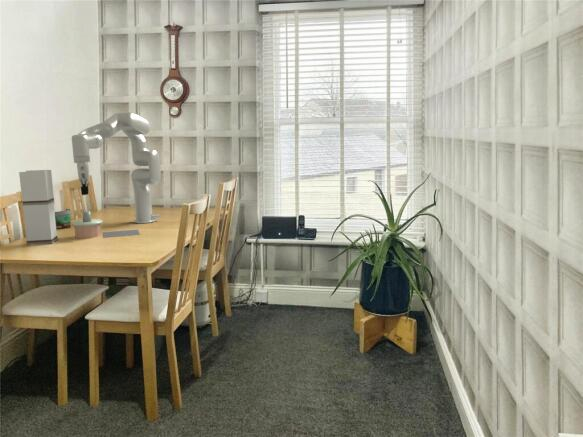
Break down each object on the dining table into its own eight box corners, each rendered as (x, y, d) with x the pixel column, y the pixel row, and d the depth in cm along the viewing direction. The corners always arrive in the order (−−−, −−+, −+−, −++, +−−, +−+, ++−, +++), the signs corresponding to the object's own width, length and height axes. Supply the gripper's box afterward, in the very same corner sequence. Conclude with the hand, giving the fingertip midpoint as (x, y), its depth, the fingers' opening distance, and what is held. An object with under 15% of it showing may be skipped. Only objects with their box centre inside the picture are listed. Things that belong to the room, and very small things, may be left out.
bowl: (100, 233, 278) (99, 220, 277) (101, 237, 267) (99, 224, 266) (76, 235, 274) (74, 222, 273) (75, 240, 263) (74, 226, 262)
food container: (64, 229, 293) (62, 212, 291) (54, 229, 294) (52, 211, 293) (77, 225, 305) (76, 208, 303) (68, 225, 306) (66, 208, 305)
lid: (102, 220, 279) (101, 208, 278) (103, 224, 265) (102, 212, 264) (72, 222, 274) (70, 211, 273) (70, 227, 260) (69, 214, 259)
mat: (137, 230, 285) (137, 229, 285) (140, 235, 270) (140, 234, 270) (102, 233, 279) (102, 232, 279) (103, 238, 264) (103, 237, 264)
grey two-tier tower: (57, 239, 266) (51, 169, 260) (52, 243, 255) (44, 171, 250) (33, 240, 264) (26, 170, 258) (26, 245, 253) (19, 172, 248)
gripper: (89, 160, 257) (93, 195, 260) (89, 158, 273) (93, 191, 276) (73, 160, 255) (76, 196, 258) (74, 159, 271) (77, 192, 274)
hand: (85, 193), depth 267 cm, fingers open, 9 cm apart
